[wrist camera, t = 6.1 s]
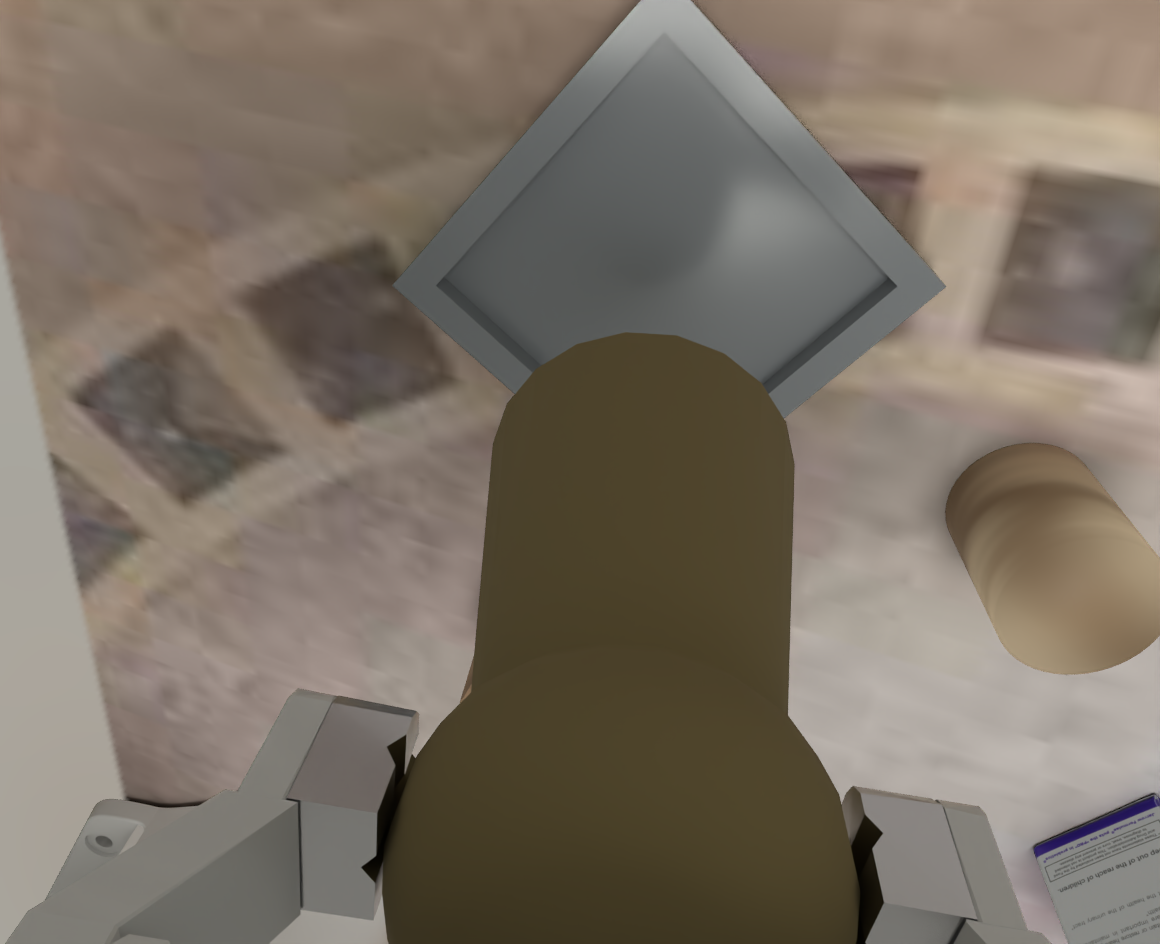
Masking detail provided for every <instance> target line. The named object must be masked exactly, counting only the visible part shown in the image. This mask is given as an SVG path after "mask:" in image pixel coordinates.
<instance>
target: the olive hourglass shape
mask: <svg viewBox="0 0 1160 944" xmlns="http://www.w3.org/2000/svg"><path fill="white" fill-rule="evenodd" d="M794 465H795V464H794V459H793V454H792V450H791V445H790V440H789V435H788V430H787V425H786V421H785V420H784V418H783V417H782V415H781V413H780V412H779V410H778V409H777V407H776V405H775V404H774V402H773V401H772V399H771V397H770V396H769V394H768V393H767V391H766V389H765V388H764V386H763V385H762V383H761V382H759V381H758V380H757V379H756V378H754V377H753V376H752V375H751V374H749V373H748V372H747V371H746V370H744V369H743V368H742V367H741V366H739V365H738V364H737V363H736V362H734V361H733V360H732V359H731V358H729V357H728V356H727V355H726V354H724V353H722V352H720V351H717V350H714V349H712V348H709V347H706V346H704V345H701V344H698V343H696V342H693V341H690V340H688V339H685V338H683V337H680V336H677V335H663V334H647V333H630V332H624V333H620V334H616V335H612V336H608V337H604V338H600V339H596V340H591V341H587V342H583V343H579V344H576V345H574V346H573V347H571V348H569V349H568V350H566V351H565V352H563V353H561V354H560V355H558V356H556V357H555V358H553V359H551V360H550V361H548V362H547V363H545V364H543V365H542V366H540V367H538V368H537V369H535V371H534V372H533V373H532V374H531V375H530V377H529V378H528V379H527V380H526V382H525V383H524V384H523V385H522V386H521V388H520V389H519V390H518V391H517V392H516V394H515V395H514V396H513V397H512V398H511V400H510V401H509V402H508V403H507V405H506V408H505V411H504V414H503V417H502V420H501V422H500V425H499V428H498V431H497V434H496V436H495V439H494V442H493V448H492V460H491V471H490V482H489V494H488V505H487V517H486V528H485V539H484V551H483V562H482V573H481V585H480V596H479V607H478V619H477V630H476V641H475V653H474V664H473V675H472V687H471V693H470V694H469V695H468V696H467V697H466V698H465V699H464V700H463V701H462V702H461V703H460V704H459V705H458V706H457V707H456V708H455V709H454V710H453V711H452V712H451V713H450V714H449V715H448V716H447V717H446V718H445V719H444V720H443V721H442V722H441V723H440V725H439V726H438V727H437V729H436V730H435V732H434V733H433V734H432V736H431V737H430V739H429V740H428V741H427V743H426V744H425V745H424V747H423V748H422V750H421V751H420V752H419V754H418V755H417V757H416V759H415V762H414V764H413V767H412V770H411V772H410V775H409V777H408V780H407V783H406V785H405V788H404V790H403V793H402V796H401V798H400V801H399V804H398V806H397V809H396V812H395V815H394V818H393V821H392V824H391V827H390V830H389V832H388V835H387V838H386V841H385V844H384V853H383V878H382V898H383V907H384V916H385V925H386V934H387V940H388V943H389V944H856V941H857V931H858V918H859V905H860V887H859V882H858V878H857V873H856V869H855V864H854V860H853V855H852V850H851V846H850V841H849V837H848V832H847V828H846V823H845V819H844V815H843V810H842V806H841V801H840V797H839V794H838V792H837V790H836V788H835V786H834V785H833V783H832V781H831V779H830V777H829V776H828V774H827V772H826V770H825V769H824V767H823V765H822V763H821V761H820V760H819V758H818V756H817V755H816V753H815V752H814V751H813V749H812V748H811V746H810V745H809V744H808V742H807V741H806V740H805V738H804V737H803V736H802V734H801V733H800V731H799V730H798V729H797V727H796V726H795V725H794V723H793V722H792V720H791V719H790V718H789V716H788V687H789V650H790V613H791V576H792V539H793V502H794Z"/></svg>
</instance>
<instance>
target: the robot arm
mask: <svg viewBox="0 0 1160 944" xmlns="http://www.w3.org/2000/svg"><path fill="white" fill-rule="evenodd" d="M418 733H419V713H418V712H417V711H414V710H409V709H404V708H399V707H394V706H389V705H384V704H378V703H373V702H368V701H363V700H358V699H353V698H348V697H343V696H334V695H329V694H324V693H319V692H314V691H309V690H304V689H299V688H298V689H297V690H296V691H295V692H294V693H293V694H292V695H291V696H289V698H288V699H287V701H286V703H285V705H284V707H283V709H282V710H281V712H280V714H279V716H278V718H277V720H276V721H275V723H274V725H273V727H272V729H271V731H270V732H269V734H268V736H267V738H266V740H265V742H264V743H263V745H262V747H261V749H260V751H259V753H258V754H257V756H256V758H255V760H254V762H253V764H252V765H251V767H250V769H249V771H248V773H247V775H246V776H245V778H244V780H243V782H242V784H241V786H240V787H239V789H238V791H233V790H227V789H225V790H223V791H222V792H220V793H218V794H217V795H215V796H213V797H212V798H210V799H209V800H207V801H205V802H204V803H202V804H201V805H199V806H190V807H178V808H159V807H155V806H151V805H146V804H141V803H136V802H131V801H126V800H118V799H106V800H102V801H100V802H99V803H97V804H96V806H95V807H94V809H93V811H92V813H91V815H90V817H89V818H88V820H87V822H86V824H85V826H84V827H83V829H82V832H81V833H80V835H79V837H78V839H77V841H76V843H75V844H74V847H73V848H72V850H71V852H70V854H69V856H68V858H67V860H66V862H65V863H64V865H63V867H62V869H61V871H60V873H59V875H58V877H57V879H56V881H55V882H54V884H53V886H52V888H51V890H50V892H49V894H48V896H47V897H46V899H45V901H44V902H42V903H40V904H39V905H37V906H35V907H34V908H32V909H31V910H29V911H28V912H27V913H26V915H25V916H24V918H23V919H22V920H21V922H20V923H19V925H18V926H17V927H16V929H15V930H14V932H13V933H12V935H11V936H10V937H9V939H8V940H7V942H6V943H5V944H389V943H388V940H387V934H386V925H385V916H384V907H383V898H382V878H383V853H384V844H385V841H386V838H387V835H388V832H389V830H390V827H391V824H392V821H393V818H394V815H395V812H396V809H397V806H398V804H399V801H400V798H401V796H402V793H403V790H404V788H405V785H406V783H407V780H408V777H409V775H410V772H411V770H412V767H413V764H414V762H415V757H414V756H413V755H412V752H413V749H414V746H415V743H416V740H417V737H418ZM841 806H842V810H843V815H844V819H845V823H846V828H847V832H848V837H849V841H850V846H851V850H852V855H853V860H854V864H855V869H856V873H857V878H858V882H859V887H860V905H859V918H858V931H857V941H856V944H1051V942H1050V941H1049V940H1048V939H1047V938H1046V937H1045V936H1044V935H1043V934H1042V933H1038V932H1033V931H1029V930H1028V928H1027V926H1026V923H1025V920H1024V917H1023V915H1022V912H1021V909H1020V906H1019V904H1018V901H1017V898H1016V895H1015V893H1014V890H1013V887H1012V884H1011V882H1010V879H1009V876H1008V874H1007V871H1006V868H1005V865H1004V863H1003V860H1002V857H1001V854H1000V852H999V849H998V846H997V843H996V841H995V838H994V835H993V832H992V830H991V827H990V824H989V821H988V819H987V816H986V814H985V813H984V812H983V810H982V809H981V808H980V807H979V806H973V805H967V804H960V803H954V802H948V801H942V800H933V799H930V798H924V797H918V796H912V795H906V794H899V793H893V792H887V791H881V790H875V789H869V788H863V787H856V786H852V787H851V789H850V790H849V791H848V792H847V793H846V795H845V797H844V800H843V802H842V805H841Z"/></svg>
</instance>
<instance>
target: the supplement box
mask: <svg viewBox="0 0 1160 944" xmlns="http://www.w3.org/2000/svg"><path fill="white" fill-rule="evenodd" d="M1034 853H1035V856H1036V859H1037V861H1038V864H1039V867H1040V870H1041V873H1042V875H1043V878H1044V880H1045V883H1046V885H1047V888H1048V891H1049V894H1050V896H1051V899H1052V902H1053V904H1054V907H1055V910H1056V912H1057V915H1058V918H1059V920H1060V923H1061V926H1062V928H1063V931H1064V934H1065V936H1066V939H1067V942H1068V944H1160V799H1159V797H1158V796H1156V795H1151V796H1149V797H1146V798H1143V799H1141V800H1138V801H1136V802H1134V803H1131V804H1129V805H1127V806H1125V807H1123V808H1121V809H1118V810H1116V811H1114V812H1112V813H1109V814H1107V815H1105V816H1103V817H1100V818H1099V819H1096V820H1094V821H1091V822H1089V823H1087V824H1085V825H1082V826H1080V827H1078V828H1075V829H1073V830H1070V831H1068V832H1066V833H1063V834H1061V835H1059V836H1057V837H1054V838H1052V839H1049V840H1047V841H1045V842H1043V843H1041V844H1039V845H1037V846H1036V847H1035V848H1034Z"/></svg>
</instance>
